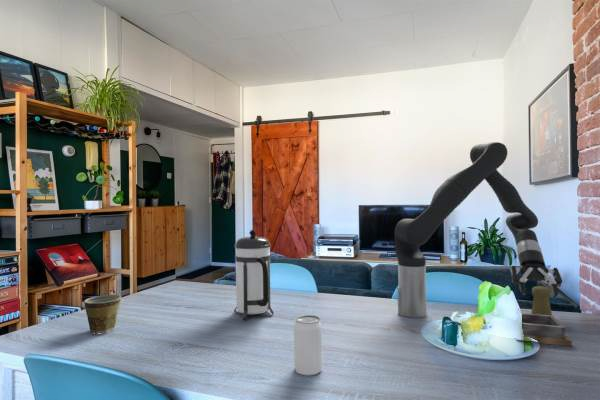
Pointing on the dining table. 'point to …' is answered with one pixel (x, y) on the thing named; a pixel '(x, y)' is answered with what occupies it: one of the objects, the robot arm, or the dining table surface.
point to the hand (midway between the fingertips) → (539, 294)
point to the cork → (541, 300)
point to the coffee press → (252, 275)
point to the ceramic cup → (102, 312)
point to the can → (308, 345)
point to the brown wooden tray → (545, 329)
